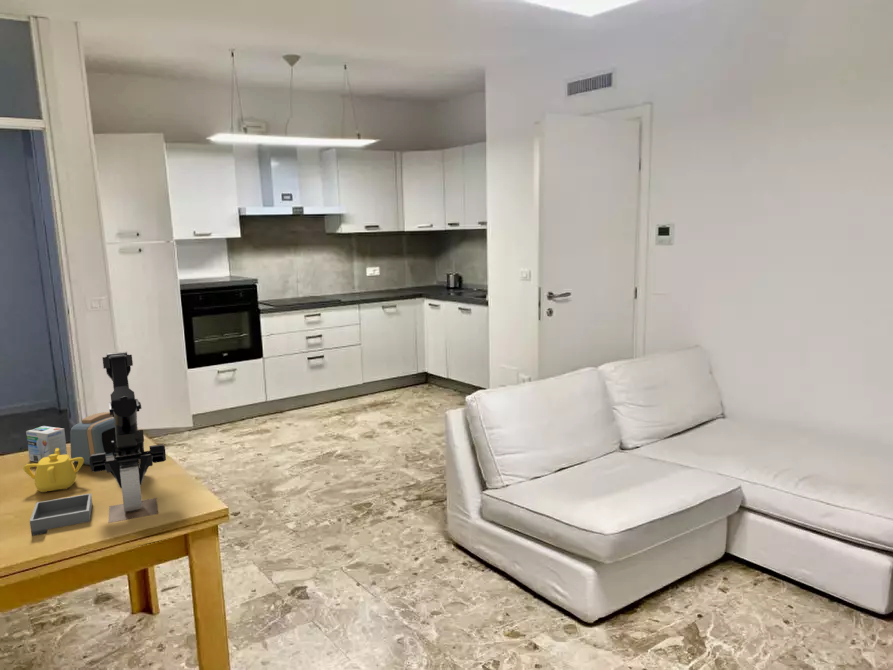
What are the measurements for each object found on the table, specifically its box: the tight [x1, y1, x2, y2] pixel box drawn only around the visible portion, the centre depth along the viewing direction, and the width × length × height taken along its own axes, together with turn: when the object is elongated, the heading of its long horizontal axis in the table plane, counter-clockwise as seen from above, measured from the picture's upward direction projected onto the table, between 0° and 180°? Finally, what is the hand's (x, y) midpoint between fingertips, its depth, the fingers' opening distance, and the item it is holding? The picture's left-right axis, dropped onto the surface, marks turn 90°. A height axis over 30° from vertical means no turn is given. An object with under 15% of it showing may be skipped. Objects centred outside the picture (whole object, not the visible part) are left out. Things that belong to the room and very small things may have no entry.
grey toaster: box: [69, 411, 115, 466], centre depth 223 cm, size 16×16×16 cm
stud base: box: [108, 497, 159, 524], centre depth 179 cm, size 12×12×4 cm
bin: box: [29, 492, 93, 537], centre depth 175 cm, size 13×13×4 cm
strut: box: [120, 461, 143, 512], centre depth 178 cm, size 4×4×12 cm
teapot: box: [22, 448, 84, 493], centre depth 199 cm, size 14×13×10 cm
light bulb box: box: [25, 425, 68, 463], centre depth 224 cm, size 11×7×11 cm, turn 68°
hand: (130, 486), depth 176 cm, fingers closed on strut, 4 cm apart
